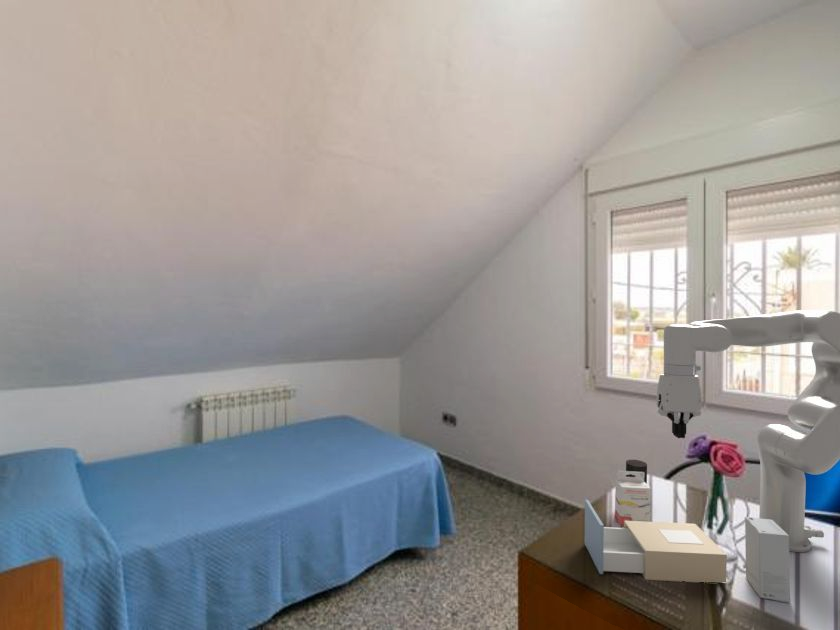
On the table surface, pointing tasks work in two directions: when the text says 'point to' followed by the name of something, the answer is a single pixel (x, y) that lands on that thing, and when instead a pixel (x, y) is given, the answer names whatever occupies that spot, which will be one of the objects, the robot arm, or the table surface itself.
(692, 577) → the sleeve
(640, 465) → the deodorant
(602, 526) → the tray
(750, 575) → the skincare box
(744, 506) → the table surface
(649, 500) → the ink cartridge box
